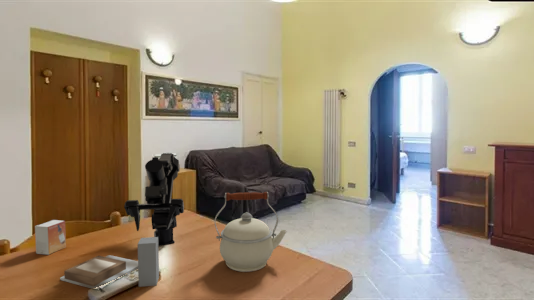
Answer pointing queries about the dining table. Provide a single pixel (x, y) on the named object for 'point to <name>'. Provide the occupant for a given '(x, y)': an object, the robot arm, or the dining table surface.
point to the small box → (50, 237)
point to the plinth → (99, 271)
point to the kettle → (247, 238)
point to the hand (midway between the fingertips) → (152, 229)
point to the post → (148, 261)
